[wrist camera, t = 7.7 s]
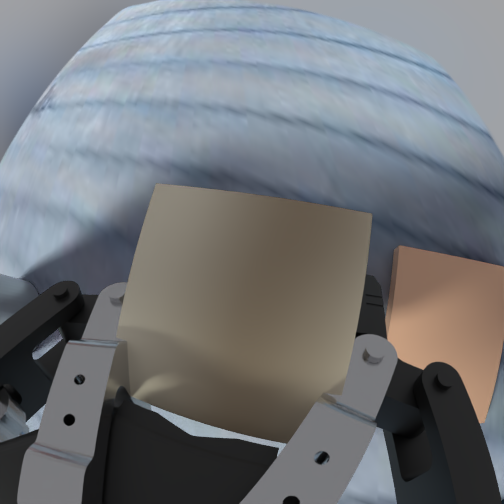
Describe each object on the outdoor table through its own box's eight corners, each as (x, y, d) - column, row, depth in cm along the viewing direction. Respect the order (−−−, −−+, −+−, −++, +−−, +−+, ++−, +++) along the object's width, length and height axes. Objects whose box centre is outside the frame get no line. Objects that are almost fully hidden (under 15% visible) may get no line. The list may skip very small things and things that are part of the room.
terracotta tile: (362, 418, 19) (366, 423, 18) (393, 249, 22) (399, 245, 21) (476, 418, 17) (484, 422, 16) (500, 270, 20) (509, 267, 18)
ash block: (212, 353, 14) (108, 386, 6) (232, 260, 15) (155, 183, 7) (308, 374, 13) (325, 448, 5) (328, 277, 14) (372, 213, 6)
